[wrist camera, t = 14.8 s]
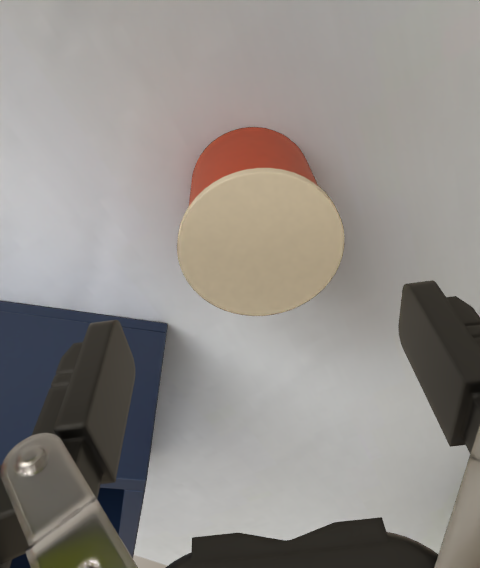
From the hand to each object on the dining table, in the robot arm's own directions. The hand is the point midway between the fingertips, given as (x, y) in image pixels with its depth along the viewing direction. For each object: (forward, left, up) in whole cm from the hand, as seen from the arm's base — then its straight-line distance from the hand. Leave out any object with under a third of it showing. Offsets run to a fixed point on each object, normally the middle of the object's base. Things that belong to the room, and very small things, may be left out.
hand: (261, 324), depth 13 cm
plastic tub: (0, 0, -9) cm, 9 cm away
